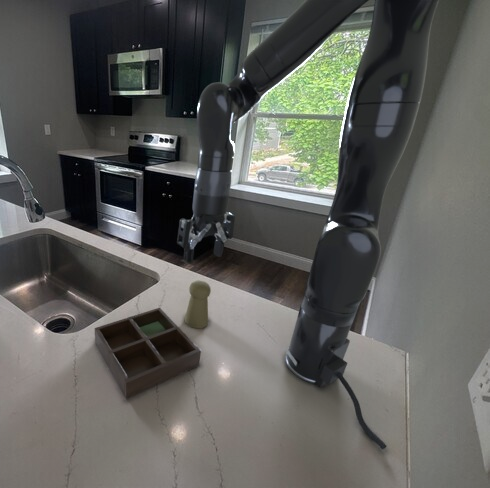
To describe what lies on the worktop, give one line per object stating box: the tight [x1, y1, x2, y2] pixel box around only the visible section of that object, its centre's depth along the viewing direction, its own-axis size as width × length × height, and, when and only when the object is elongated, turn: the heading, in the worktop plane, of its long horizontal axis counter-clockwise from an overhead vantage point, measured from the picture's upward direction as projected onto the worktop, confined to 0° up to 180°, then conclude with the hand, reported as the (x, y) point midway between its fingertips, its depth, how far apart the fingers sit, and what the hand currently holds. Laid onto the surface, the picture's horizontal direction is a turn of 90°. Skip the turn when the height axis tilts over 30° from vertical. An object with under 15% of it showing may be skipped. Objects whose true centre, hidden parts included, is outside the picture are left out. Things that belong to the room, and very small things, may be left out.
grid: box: [94, 307, 202, 400], centre depth 64 cm, size 17×17×4 cm
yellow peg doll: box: [184, 280, 212, 329], centre depth 74 cm, size 6×6×11 cm
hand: (203, 258), depth 69 cm, fingers open, 8 cm apart
